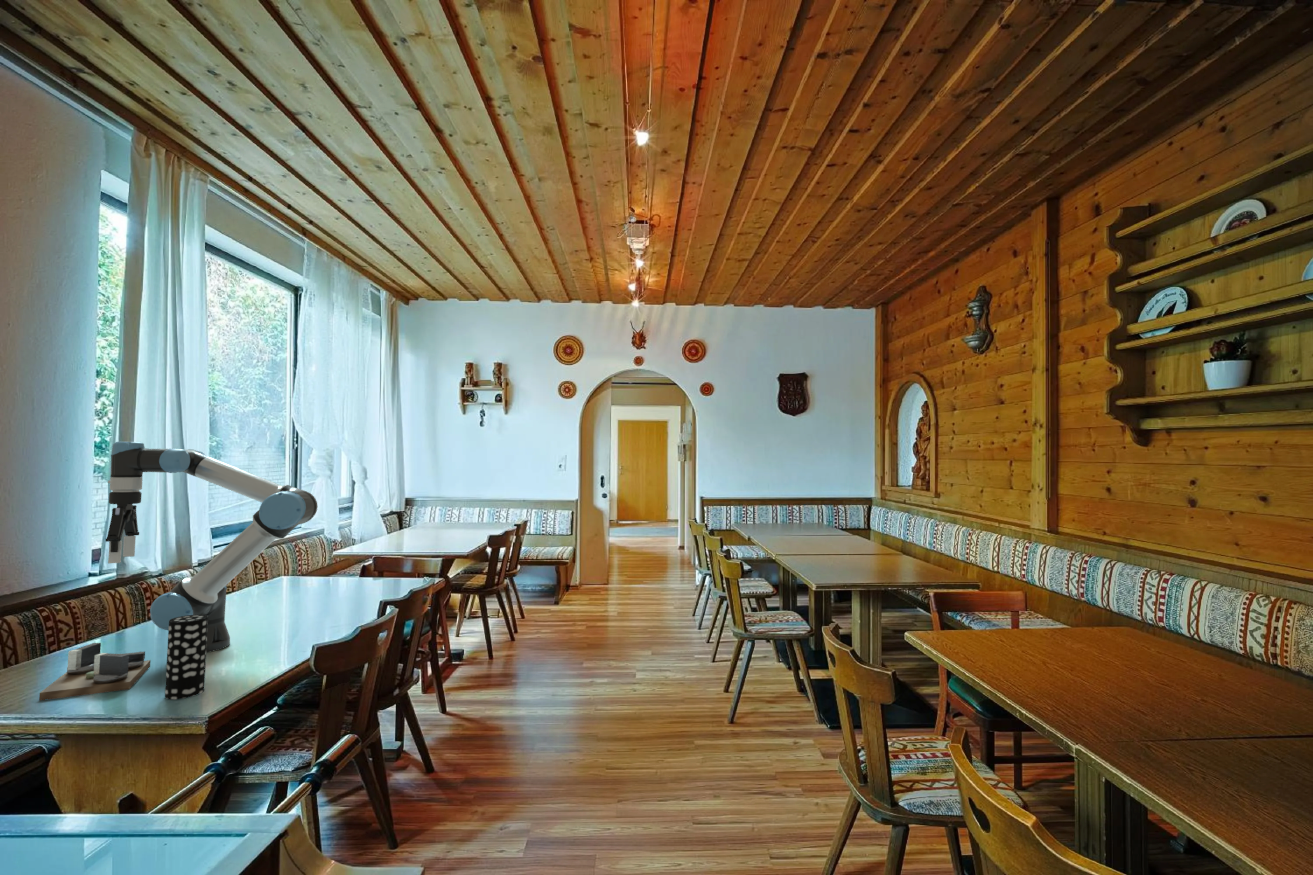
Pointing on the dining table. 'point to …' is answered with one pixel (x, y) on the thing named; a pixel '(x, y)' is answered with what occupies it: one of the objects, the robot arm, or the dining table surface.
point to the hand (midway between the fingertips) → (121, 559)
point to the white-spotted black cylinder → (186, 656)
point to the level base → (90, 684)
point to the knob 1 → (83, 659)
